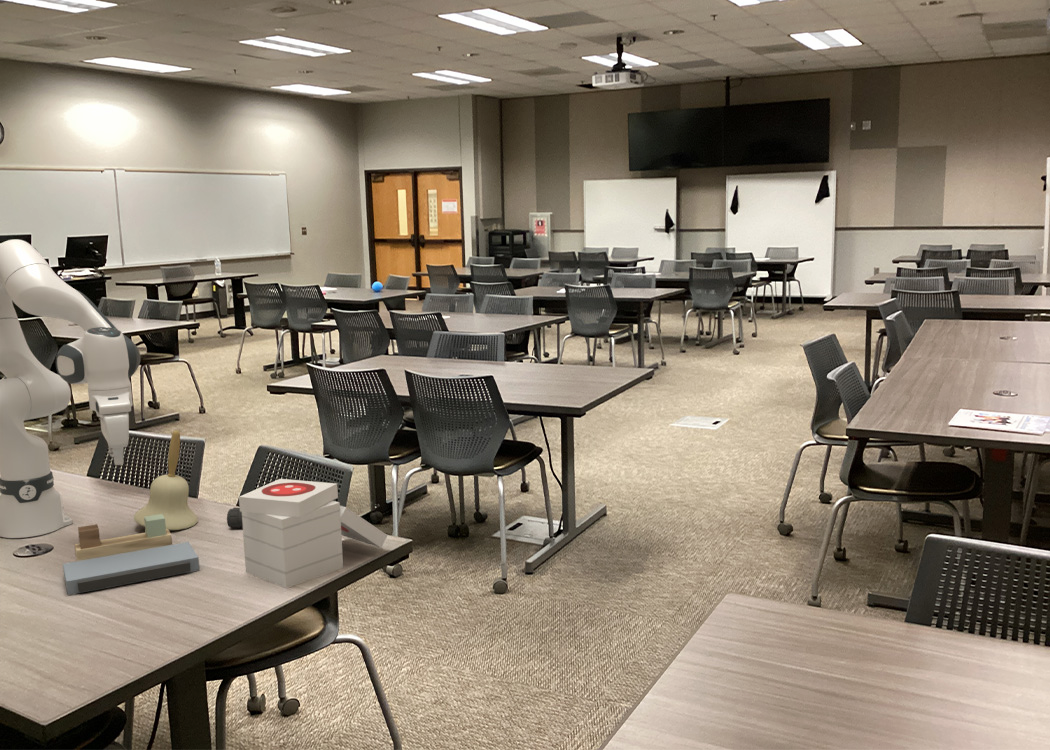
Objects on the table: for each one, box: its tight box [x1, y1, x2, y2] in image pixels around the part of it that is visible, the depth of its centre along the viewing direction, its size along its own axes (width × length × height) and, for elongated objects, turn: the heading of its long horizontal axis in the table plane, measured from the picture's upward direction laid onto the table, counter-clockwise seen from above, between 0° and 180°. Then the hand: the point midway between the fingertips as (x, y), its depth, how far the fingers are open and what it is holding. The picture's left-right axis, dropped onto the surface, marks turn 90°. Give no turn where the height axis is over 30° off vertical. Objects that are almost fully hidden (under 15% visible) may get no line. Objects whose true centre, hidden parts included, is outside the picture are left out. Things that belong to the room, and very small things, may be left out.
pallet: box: [74, 529, 173, 561], centre depth 210 cm, size 5×20×4 cm, turn 120°
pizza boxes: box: [238, 478, 388, 589], centre depth 202 cm, size 19×30×18 cm, turn 140°
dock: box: [62, 541, 200, 596], centre depth 198 cm, size 13×26×3 cm, turn 120°
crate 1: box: [77, 523, 101, 549], centre depth 206 cm, size 4×4×4 cm
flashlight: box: [226, 507, 243, 529], centre depth 229 cm, size 15×5×5 cm, turn 85°
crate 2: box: [144, 514, 166, 538], centre depth 213 cm, size 4×4×4 cm
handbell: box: [133, 430, 199, 531], centre depth 231 cm, size 15×15×25 cm
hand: (116, 460), depth 207 cm, fingers open, 8 cm apart
